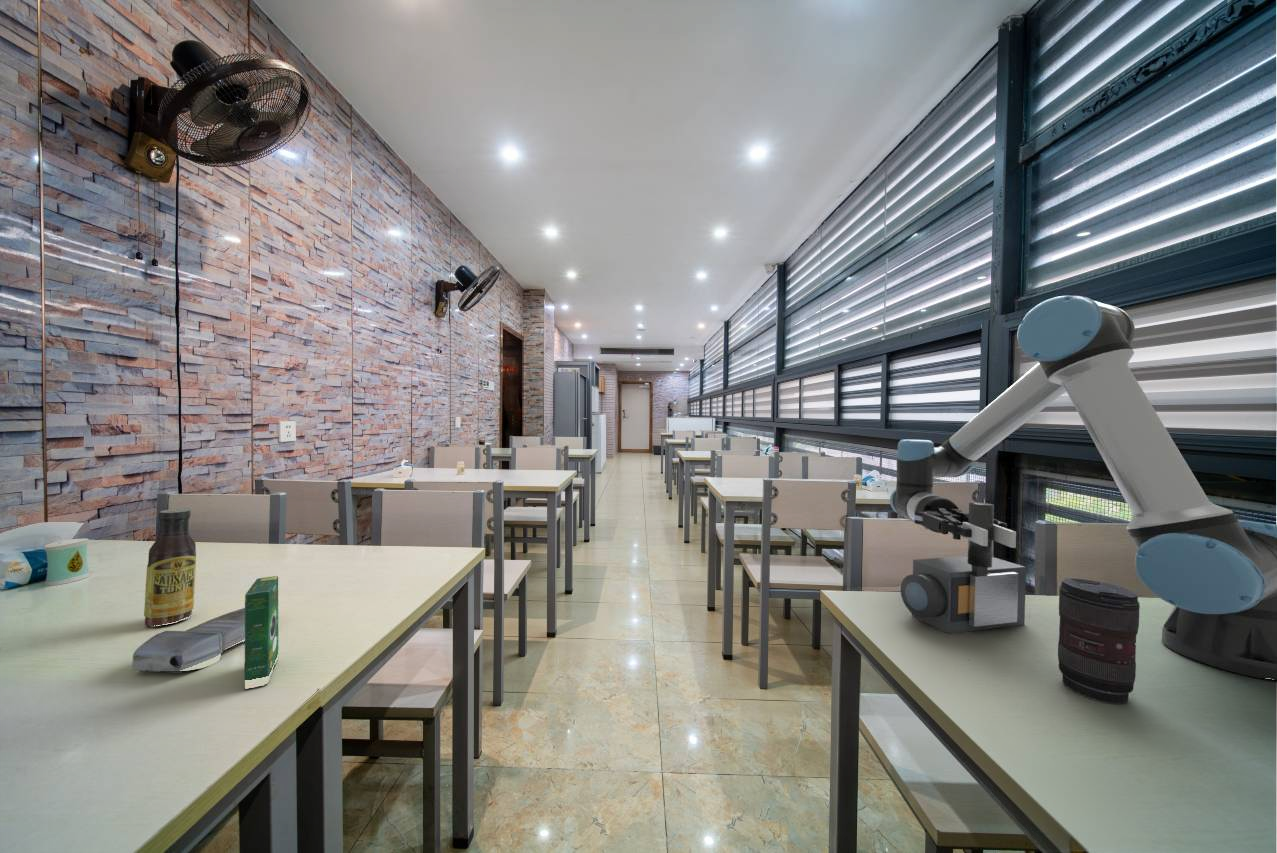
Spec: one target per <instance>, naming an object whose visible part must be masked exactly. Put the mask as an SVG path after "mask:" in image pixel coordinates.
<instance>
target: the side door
mask: <svg viewBox="0 0 1277 853" xmlns="http://www.w3.org/2000/svg"><path fill="white" fill-rule="evenodd" d="M994 511H995V505H994V504H993V503H989V502H988V503H986V502H979V501H976V502H975V501H970V502H968V513H969V523H970V524H972V525H975V526H978V527H980V528H983V529H985V530H988V546H981V545H979V544H977V543H975V542H973V541H970V540H968V539H967V556H968V564H970V565H972V575H970V603H969V625H971V626H974V627H977V626H985V625H994V624H1003V623H1012V622H1017V608H1018V573H1015V572H1003V573H990V574H987V570H988V568H990V567H992V558H993V557H994V556H993V553H994V552H993V551H994V549H993V548H994V540H993V522H994V519H995V518H994V516H995V512H994Z"/></svg>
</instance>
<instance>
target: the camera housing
mask: <svg viewBox="0 0 1277 853" xmlns="http://www.w3.org/2000/svg"><path fill="white" fill-rule="evenodd" d="M1003 572H1015V573H1018V608H1017V622H1012V623H1003V624H994V625H985V626H977V627H974V626H971V625H969V603H970V575H972V565H970V564H968V555H964V556H947V557H932V558H921V559H920V558H918V559H913V560H912V574H910V575H907V576H905V577H904V578H903V579H902V581H901V583H900V595H901V599H902V602H903V603H904V606H905V608H906V609H907V610H908V611H909V612H910V613H911V616H913V617H914V618H917V619H919V620H920V621H923V622H925V623H926V624H929V625H931V626H933V627H934V628H937V629H938V630H940V629H941V630H940V631H942V630H943V632H944V631H945V632H944V633H946V632H947V634H954V633H965V632H970V631H979V630H980V631H981V630H991V629H997V628H998V629H999V628H1006V627H1017V626H1024V625H1025V620H1026V618H1025V617H1026V615H1025V613H1026V590H1027V588H1026V586H1027V584H1026V582H1027V581H1026V580H1027V579H1026V578H1027V566H1023V565H1021V564H1017V563H1015V562H1014V563H1013V562H1011V561H1007V560H1004V559H1000V558H997V557H994V556H993V558H992V567H990V568H988V570H987V574H990V573H1003Z"/></svg>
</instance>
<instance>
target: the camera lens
mask: <svg viewBox="0 0 1277 853" xmlns="http://www.w3.org/2000/svg"><path fill="white" fill-rule="evenodd" d="M1058 591H1059V593H1058V596H1059V597H1058V610H1059V611H1058V615H1059V630H1058V634H1059V635H1058V642H1057V660H1058V670H1059V671H1060V672H1061V674H1062V676H1061V677H1062V682H1063V685H1065V687H1067V688H1068V687H1069V688H1068V689H1070V690H1071V689H1072V690H1071V691H1072V692H1074V691H1075V692H1074V693H1076V692H1078V693H1080V694H1079V695H1081V694H1082V695H1081V696H1083V695H1084V696H1083V697H1085V696H1086V698H1088V697H1089V698H1088V699H1091V698H1092V699H1091V700H1094V699H1095V700H1094V701H1097V700H1098V701H1097V702H1101V701H1102V702H1101V703H1106V704H1114V705H1120V704H1126V703H1128V701H1129V697H1130V693H1132V692H1133V691H1134V685H1135V681H1136V671H1137V663H1136V657H1137V656H1136V655H1137V654H1136V653H1137V651H1136V650H1137V645H1136V643H1137V635H1138V633H1139V627H1140V606H1141V605H1140V602H1139V598H1138V597H1139V596H1138V594H1137V593H1136V592H1134V591H1133V590H1130V589H1127V588H1124V587H1121V586H1118V585H1115V584H1110V583H1107V582H1101V581H1096V580H1089V579H1083V578H1081V579H1080V578H1073V577H1072V578H1064V579H1062V580H1061V585H1060V586H1059V590H1058ZM1078 693H1077V694H1078Z"/></svg>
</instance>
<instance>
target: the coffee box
mask: <svg viewBox="0 0 1277 853" xmlns="http://www.w3.org/2000/svg"><path fill="white" fill-rule="evenodd" d="M244 608H245V642H244V663H243V664H244V665H243V666H244V671H243V672H244V674H243V676H244V677H243V680H252V679H256V678H262V677H266V676H269V674H270V672H271V670H272V667H273V665H274V663H275V660H276V658H277V655H278V656H279V576H277V575H276V576H275V575H274V576H266V577H265V576H264V577H260V578H259V577H258V578H256V580H254V582H253V584H252V585H251V586H250V588H249V589H248V590H247V592H246V593H245V594H244Z"/></svg>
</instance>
